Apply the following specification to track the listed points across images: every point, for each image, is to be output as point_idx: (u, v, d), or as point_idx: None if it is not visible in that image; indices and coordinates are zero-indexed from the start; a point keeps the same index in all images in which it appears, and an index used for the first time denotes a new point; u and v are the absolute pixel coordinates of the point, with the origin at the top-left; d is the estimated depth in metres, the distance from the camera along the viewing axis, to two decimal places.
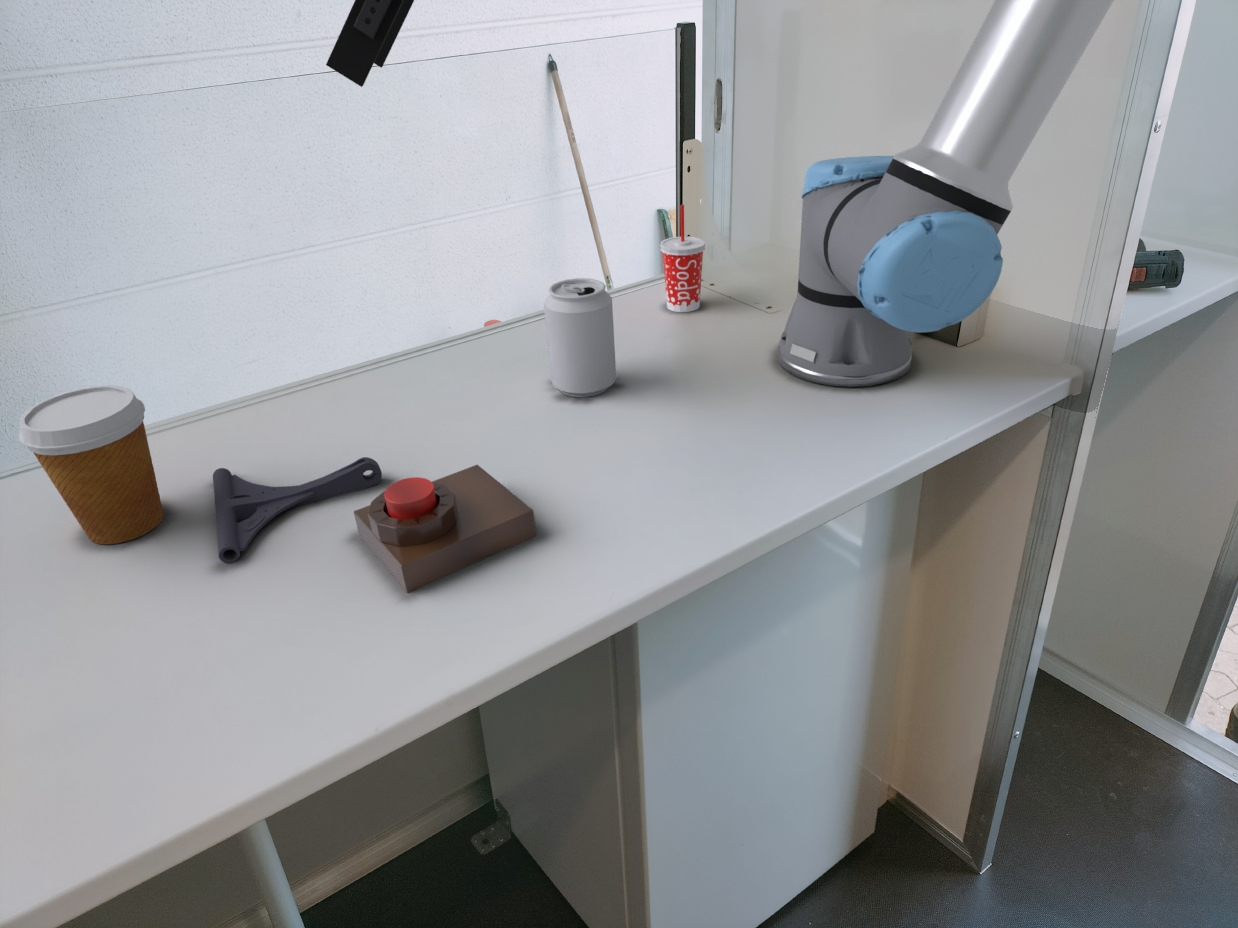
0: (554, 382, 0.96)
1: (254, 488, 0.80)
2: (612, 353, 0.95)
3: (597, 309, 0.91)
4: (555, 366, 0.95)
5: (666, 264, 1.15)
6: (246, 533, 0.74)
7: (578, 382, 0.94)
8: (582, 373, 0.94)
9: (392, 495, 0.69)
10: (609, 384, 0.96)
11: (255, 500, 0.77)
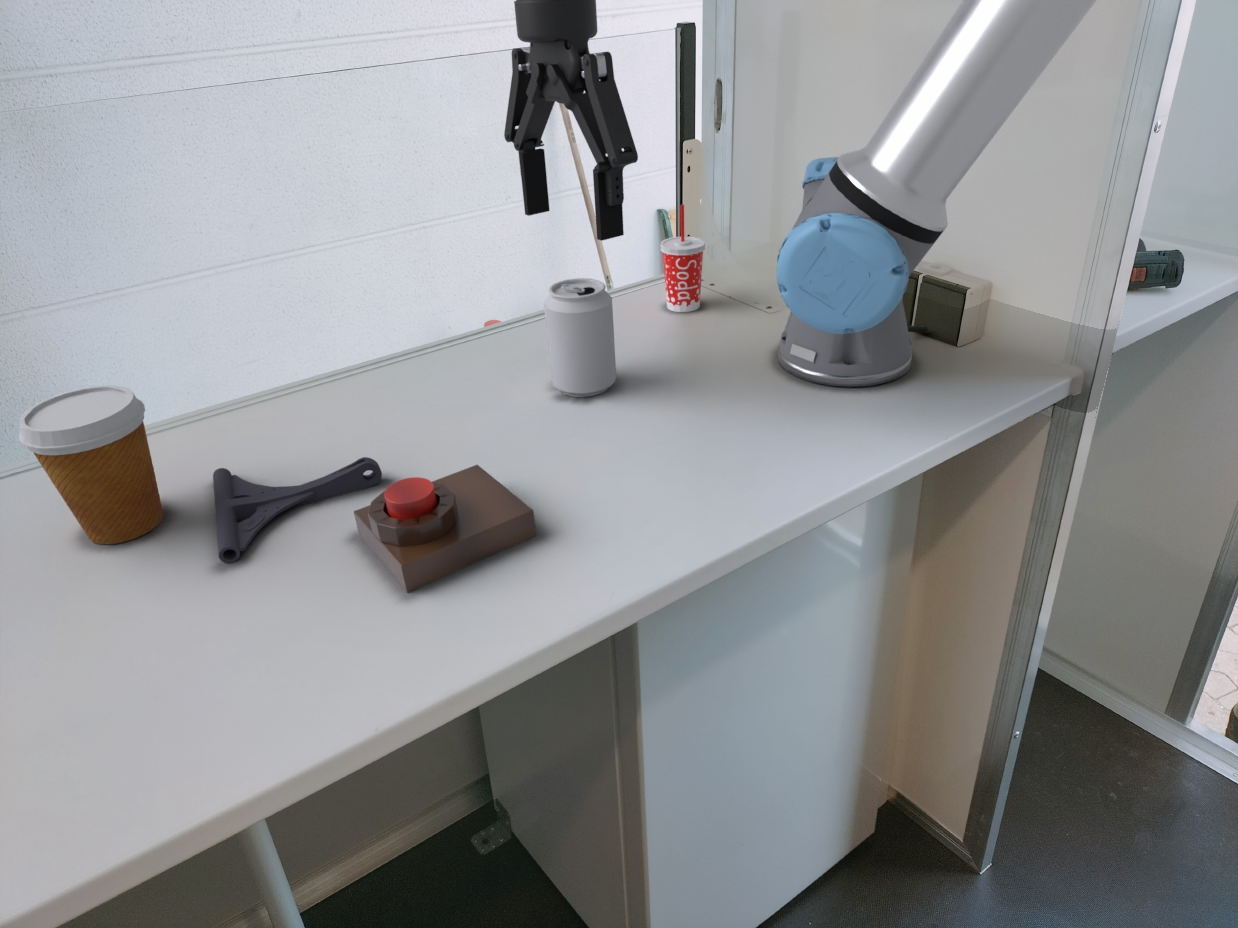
0: (554, 382, 0.96)
1: (254, 488, 0.80)
2: (612, 353, 0.95)
3: (597, 309, 0.91)
4: (555, 366, 0.95)
5: (666, 264, 1.15)
6: (246, 533, 0.74)
7: (578, 382, 0.94)
8: (582, 373, 0.94)
9: (392, 495, 0.69)
10: (609, 384, 0.96)
11: (255, 500, 0.77)
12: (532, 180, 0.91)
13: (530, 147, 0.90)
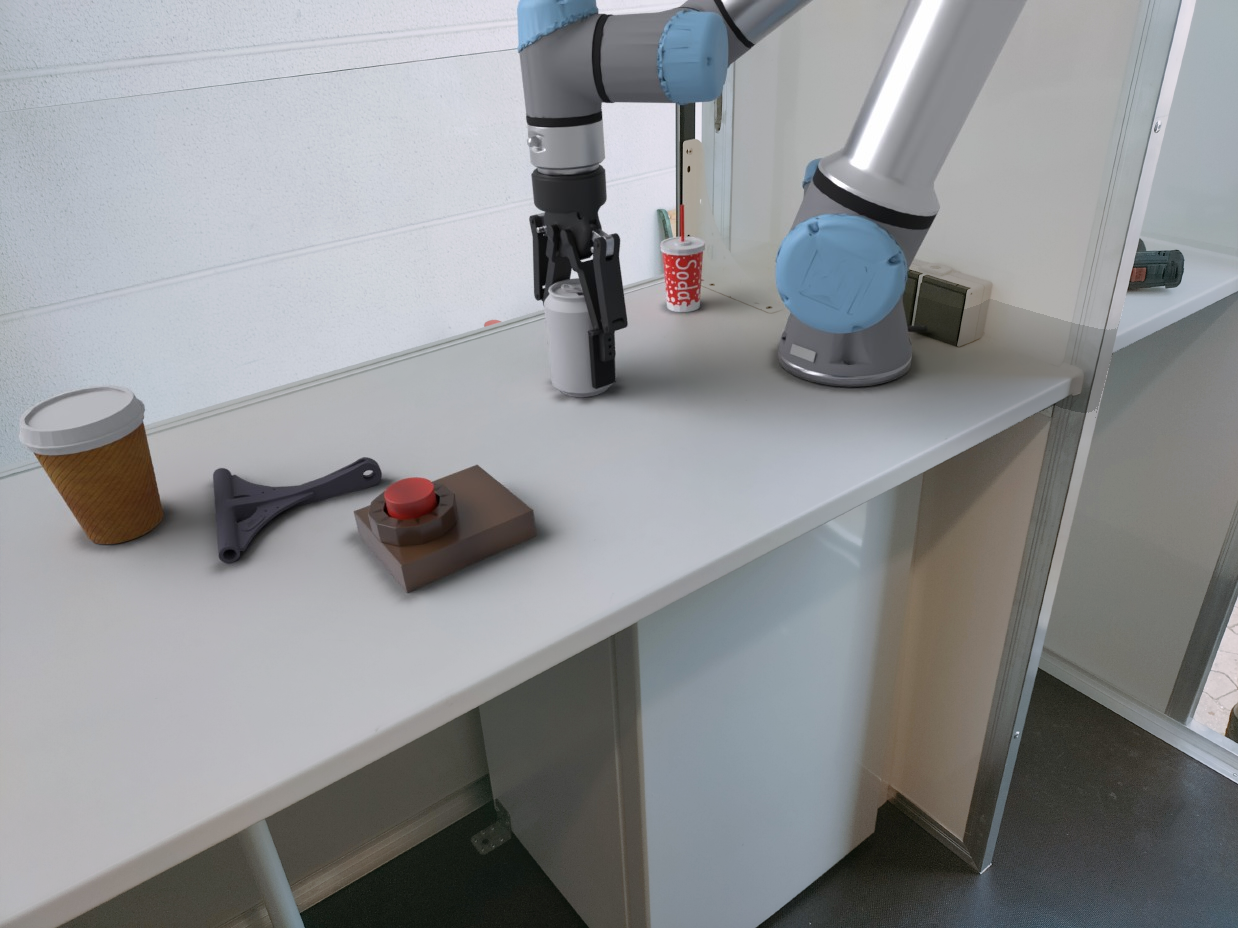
0: (554, 382, 0.96)
1: (254, 488, 0.80)
2: None
3: None
4: (555, 366, 0.95)
5: (666, 264, 1.15)
6: (246, 533, 0.74)
7: (578, 382, 0.94)
8: (582, 373, 0.94)
9: (392, 495, 0.69)
10: (609, 384, 0.96)
11: (255, 500, 0.77)
12: None
13: None
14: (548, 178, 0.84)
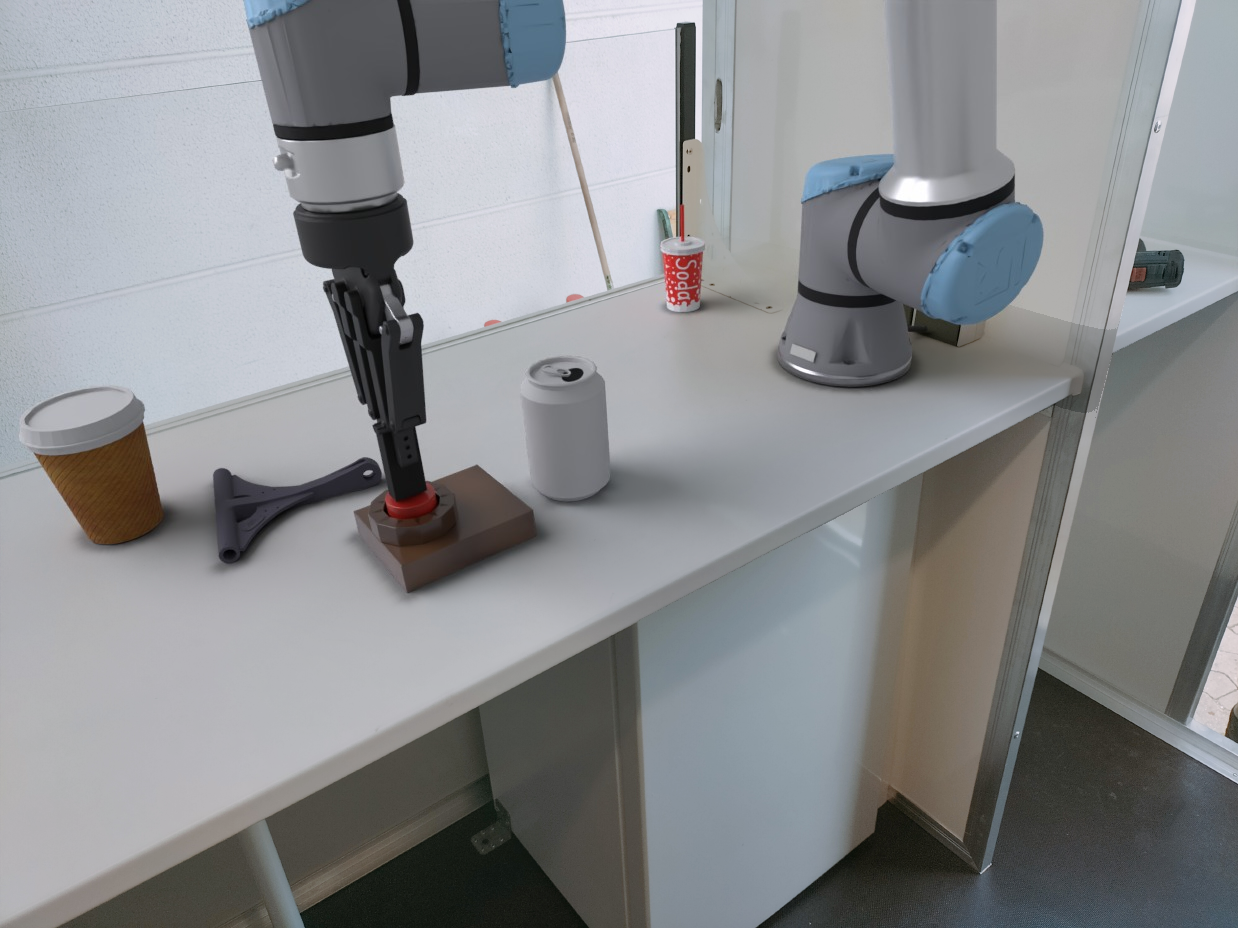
0: (534, 483, 0.78)
1: (254, 488, 0.80)
2: (606, 448, 0.77)
3: (586, 398, 0.72)
4: (535, 465, 0.76)
5: (666, 264, 1.15)
6: (246, 533, 0.74)
7: (563, 486, 0.76)
8: (568, 475, 0.75)
9: (393, 500, 0.69)
10: (602, 485, 0.77)
11: (255, 500, 0.77)
12: None
13: None
14: (309, 216, 0.55)
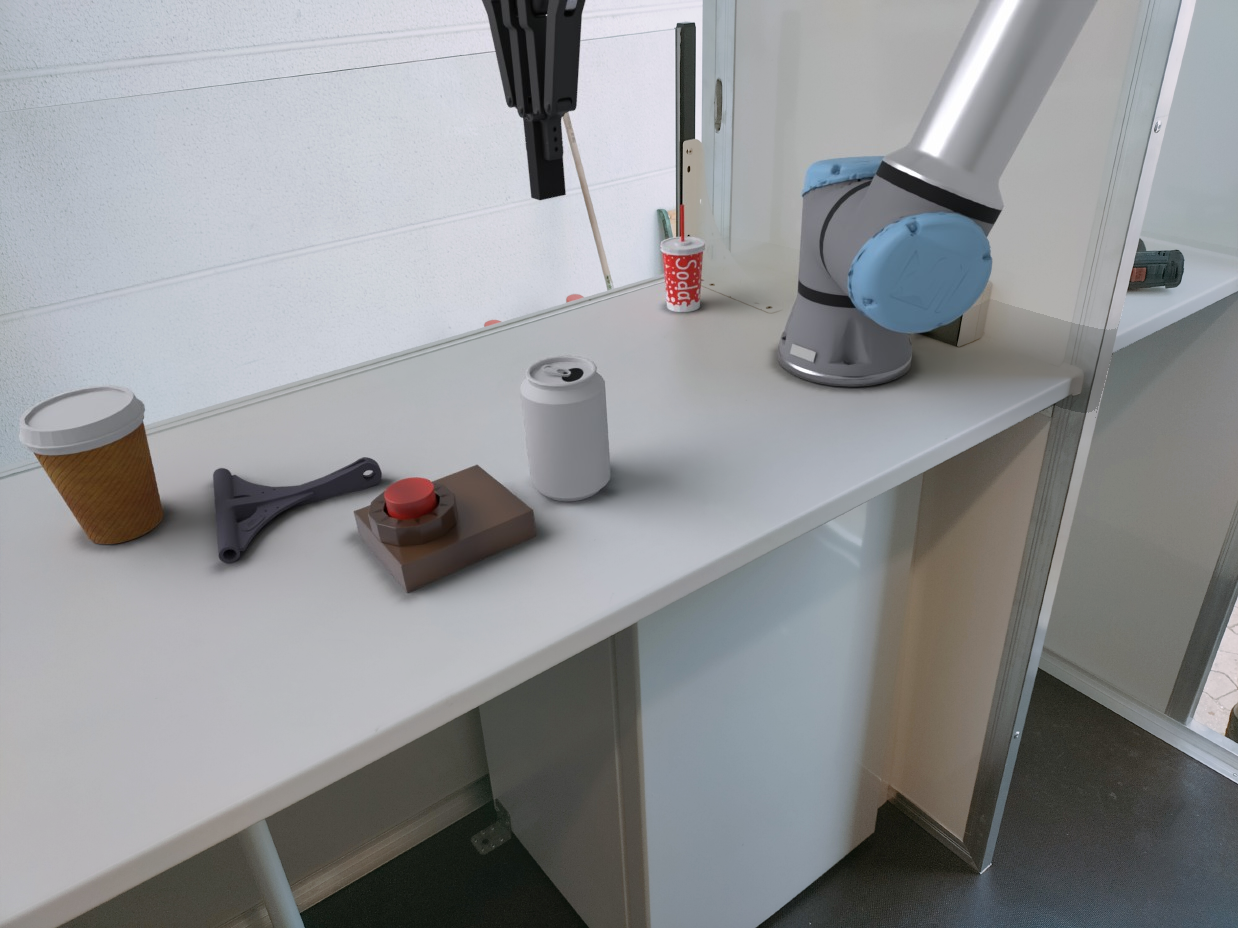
0: (534, 483, 0.78)
1: (254, 488, 0.80)
2: (606, 448, 0.77)
3: (586, 398, 0.72)
4: (535, 465, 0.76)
5: (666, 264, 1.15)
6: (246, 533, 0.74)
7: (563, 486, 0.76)
8: (568, 475, 0.75)
9: (392, 495, 0.69)
10: (602, 485, 0.77)
11: (255, 500, 0.77)
12: None
13: None
14: None
